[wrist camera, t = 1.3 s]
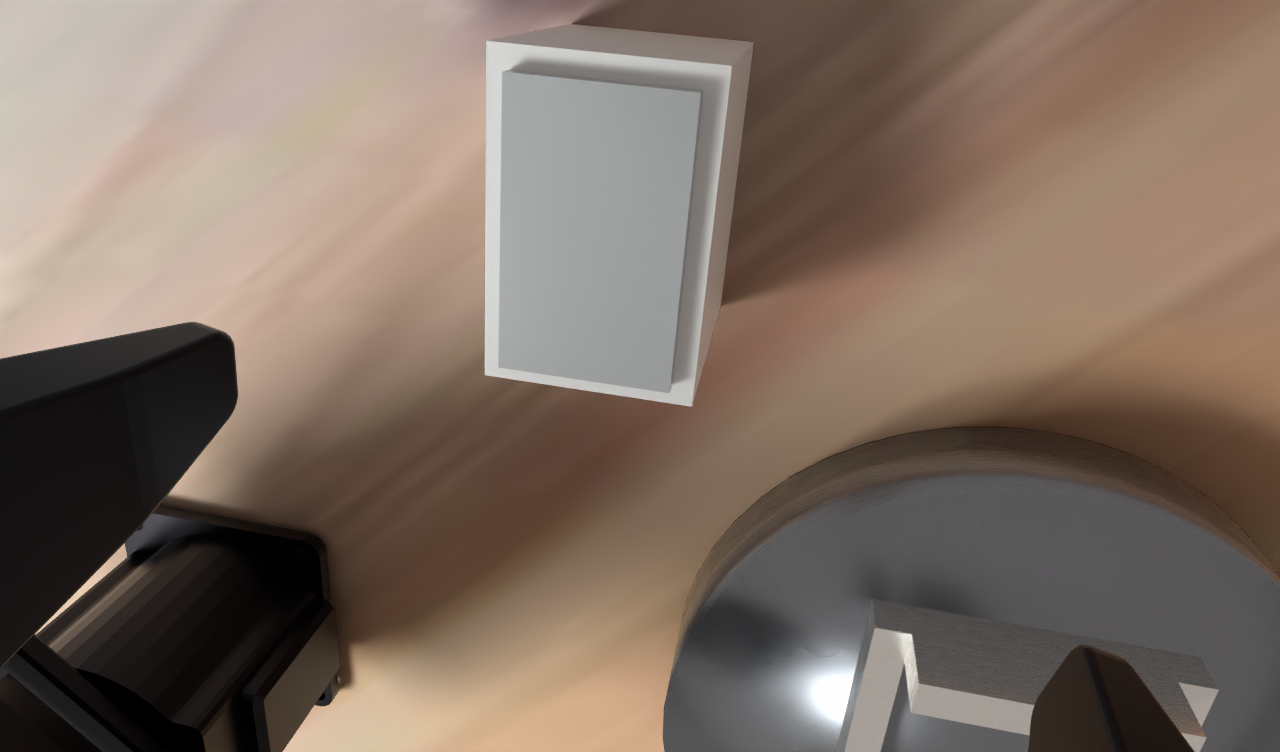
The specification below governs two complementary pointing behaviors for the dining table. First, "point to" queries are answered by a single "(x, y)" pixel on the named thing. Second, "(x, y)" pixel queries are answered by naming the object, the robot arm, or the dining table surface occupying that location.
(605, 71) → the block
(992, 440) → the grey round tray
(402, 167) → the dining table surface
